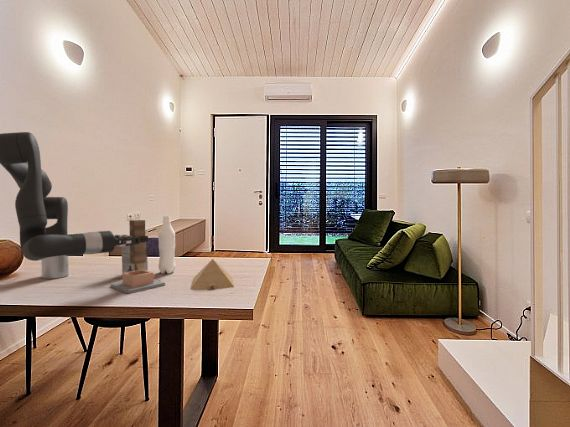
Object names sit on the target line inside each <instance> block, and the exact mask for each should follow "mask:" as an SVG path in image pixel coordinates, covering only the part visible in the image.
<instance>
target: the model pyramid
mask: <svg viewBox="0 0 570 427" xmlns="http://www.w3.org/2000/svg"><path fill="white" fill-rule="evenodd" d="M230 287H231V288H235V284H234V279H233V276H232V275H231V274H230V273H229V272H227V270H225V269H224V268H223V267H222V266H221V265H220V264H219V263H218V262H217V261H216V260H214V258H212V259H210V261H208V263H207V264H206V265H204V267H203V268H202V269H201V270H200V271H199V272H198V273H197V274H196V275H195V276H194V277H193V278H192V281H191V284H190V290H205V289H206V290H207V289H208V290H212V289H214V290H216V289H224V288H225V289H227V288H230Z"/></svg>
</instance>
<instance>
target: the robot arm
mask: <svg viewBox="0 0 570 427" xmlns="http://www.w3.org/2000/svg"><path fill="white" fill-rule="evenodd" d="M41 162H42V161H41V153H40V147H39V143H38V141H37V138H36V137H35V135H34V134H33V133H31V132H29V131H28V132H27V131H21V132H7V133H6V132H5V133H0V165H1V166H2V167H3V168H4V170H6V171H7V172H8V173H9V174H10V176H11V177H12V178H13V180H14V181H15V184H17V186H18V188H19V191H18V192H17V194H16V198H15V200H14V201H15V202H14V204H15V205H14V206H15V212H16V218H17V222H18V225H19V243H20V244H19V246H20V250H21V253H22V255H23V257H24V258H25V259H27V260H28V261H35V262H36V261H37V262H38V261H40V260H41V263H40V264H41V278H42V279H59V278H65V277H67V276H69V274H70V273H69V257H72V256H79V255H80V256H81V255H83V256H84V255H97V254H106V253H111V252H113V251H114V250H115V247H118V248H119V247H120V248H122V246H125V245H126V246H129V245H135V244H140V242H147V243H148V242H149V236H148V235H145V236H135V237H132V236H131V235H130V234H114V233H113V232H112V231H111V230H102V231H101V230H100V231H89V232H82V233H71V234H68V215H69V214H68V212H69V208H68V207H69V206H68V200H67V198H66V197H64V196H63V197H62V196H61V197H60V196H49V194H50V193H51V191H52V186H53V185H52V181H51V180H50V178H49V176H48V174H47V172H45V171H44V170H43V169H42V163H41ZM48 220H56V223H54V224H52V225H50V226H48ZM46 226H48V227H46Z"/></svg>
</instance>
